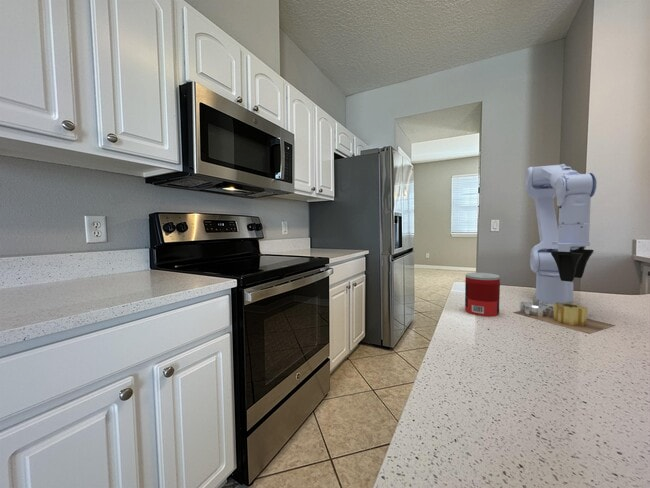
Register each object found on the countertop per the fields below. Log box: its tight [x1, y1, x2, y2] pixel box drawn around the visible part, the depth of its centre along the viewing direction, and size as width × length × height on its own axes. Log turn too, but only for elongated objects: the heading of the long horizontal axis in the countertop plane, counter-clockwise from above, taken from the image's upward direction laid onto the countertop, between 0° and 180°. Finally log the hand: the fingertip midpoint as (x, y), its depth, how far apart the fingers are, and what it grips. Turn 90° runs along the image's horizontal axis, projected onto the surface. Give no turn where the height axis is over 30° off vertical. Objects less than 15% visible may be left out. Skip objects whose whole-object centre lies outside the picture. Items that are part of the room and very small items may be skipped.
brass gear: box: [553, 302, 588, 327], centre depth 66 cm, size 6×6×4 cm
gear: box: [518, 300, 554, 318], centre depth 73 cm, size 7×7×2 cm
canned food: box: [464, 272, 501, 318], centre depth 74 cm, size 8×8×11 cm
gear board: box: [512, 298, 616, 335], centre depth 68 cm, size 11×16×4 cm
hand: (571, 279), depth 69 cm, fingers open, 7 cm apart
